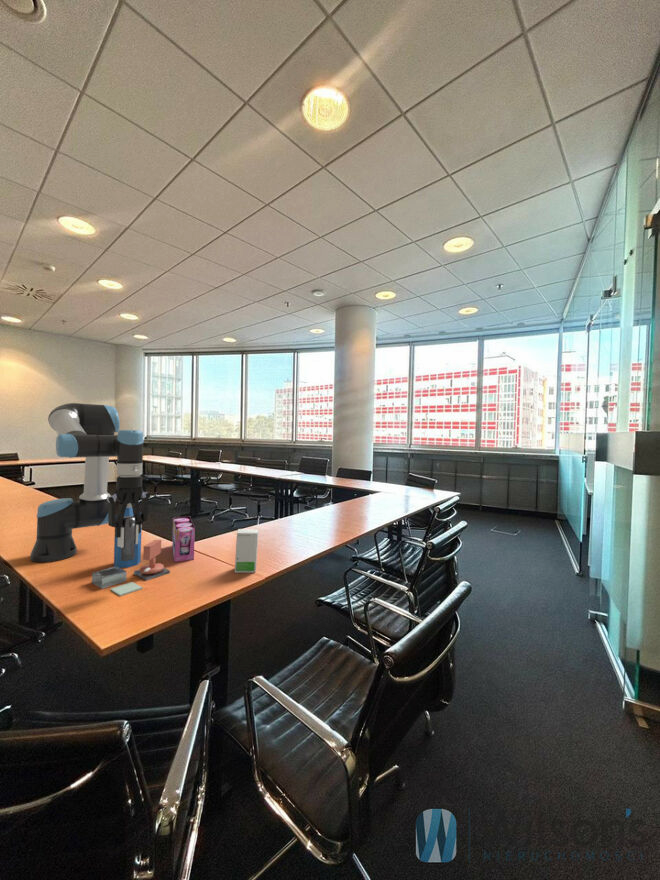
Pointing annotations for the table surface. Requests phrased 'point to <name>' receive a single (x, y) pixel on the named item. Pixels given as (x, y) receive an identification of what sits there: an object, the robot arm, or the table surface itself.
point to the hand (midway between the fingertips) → (127, 544)
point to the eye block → (109, 577)
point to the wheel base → (151, 576)
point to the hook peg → (128, 538)
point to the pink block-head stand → (152, 558)
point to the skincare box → (246, 551)
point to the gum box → (183, 539)
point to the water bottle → (118, 549)
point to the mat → (126, 588)
